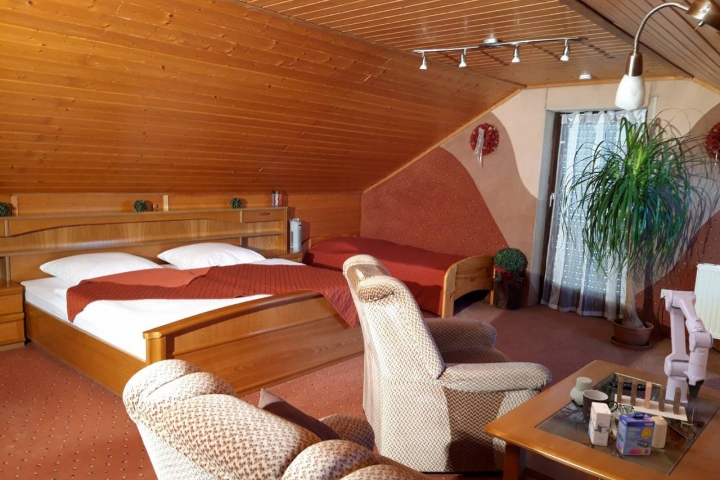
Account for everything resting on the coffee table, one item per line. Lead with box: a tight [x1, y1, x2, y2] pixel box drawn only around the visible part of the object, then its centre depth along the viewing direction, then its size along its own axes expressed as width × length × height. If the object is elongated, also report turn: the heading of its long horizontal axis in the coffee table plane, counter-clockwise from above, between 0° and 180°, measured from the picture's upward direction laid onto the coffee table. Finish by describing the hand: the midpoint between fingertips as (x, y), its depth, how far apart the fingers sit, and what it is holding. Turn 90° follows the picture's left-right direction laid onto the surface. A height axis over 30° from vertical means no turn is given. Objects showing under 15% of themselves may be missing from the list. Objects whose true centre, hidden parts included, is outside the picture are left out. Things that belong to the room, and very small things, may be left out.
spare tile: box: [644, 381, 653, 409], centre depth 224 cm, size 2×5×9 cm, turn 155°
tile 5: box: [616, 376, 624, 404], centre depth 228 cm, size 2×5×9 cm, turn 155°
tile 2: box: [658, 384, 667, 412], centre depth 222 cm, size 2×5×9 cm, turn 155°
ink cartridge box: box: [615, 412, 655, 456], centre depth 190 cm, size 10×6×14 cm, turn 95°
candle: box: [650, 415, 668, 449], centre depth 196 cm, size 6×6×10 cm
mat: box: [613, 393, 688, 422], centre depth 225 cm, size 13×25×1 cm, turn 65°
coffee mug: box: [582, 389, 619, 424], centre depth 211 cm, size 12×9×10 cm
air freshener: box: [569, 376, 594, 406], centre depth 226 cm, size 11×8×10 cm
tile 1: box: [672, 387, 681, 415], centre depth 220 cm, size 2×5×9 cm, turn 155°
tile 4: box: [630, 379, 638, 406], centre depth 226 cm, size 2×5×9 cm, turn 155°
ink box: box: [587, 402, 612, 447], centre depth 198 cm, size 9×5×12 cm, turn 168°
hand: (693, 397), depth 218 cm, fingers closed
